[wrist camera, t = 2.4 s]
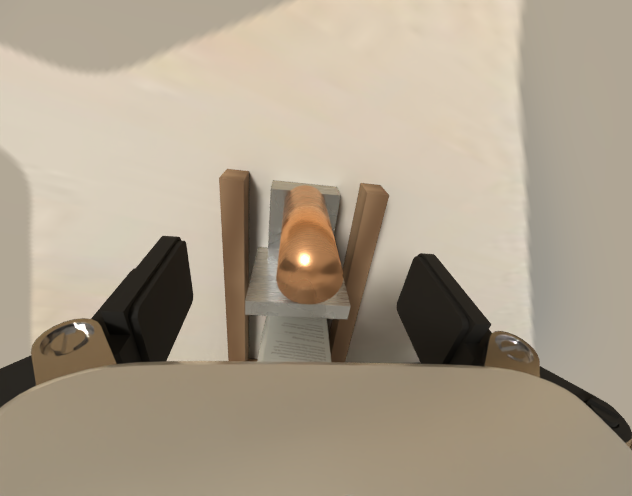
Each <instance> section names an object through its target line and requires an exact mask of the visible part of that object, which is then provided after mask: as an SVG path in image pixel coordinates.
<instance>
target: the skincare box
mask: <svg viewBox="0 0 632 496" xmlns="http://www.w3.org/2000/svg"><path fill="white" fill-rule="evenodd" d="M257 362H331V353H330V344H329V335H328V325H327V318H307V317H285V316H267V317H266V321H265V325H264V329H263V333H262V338H261V343H260V348H259V355H258V361H257Z"/></svg>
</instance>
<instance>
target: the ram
mask: <svg viewBox="0 0 632 496" xmlns="http://www.w3.org/2000/svg"><path fill="white" fill-rule="evenodd" d="M340 196H341V195H340V193H339V190H338V188H337V187H332V186H323V185H313V184H303V183H293V182H284V181H274V180H273V182H272V186H271V197H270V220H269V243H268V248H263V247H258V250H257V254H256V258H255V263H254V267H253V271H252V275H251V279H250V283H249V287H248V291H247V296H246V300H245V315H264V316H285V317H307V318H328V319H348V315H349V311H350V307H351V306H350V302H349V298H348V294H347V290H346V286H345V282H344V278H343V270H342V266H341V262H340V258H339V254H338V250H337V246H336V242H335V238H334V231H335V225H336V219H337V213H338V208H339V202H340Z"/></svg>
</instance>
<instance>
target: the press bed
mask: <svg viewBox="0 0 632 496" xmlns="http://www.w3.org/2000/svg"><path fill="white" fill-rule="evenodd" d="M219 184H220V203H221V222H222V242H223V261H224V280H225V300H226V319H227V338H228V358H229V361H258V359H249V315H245V300H246V296H247V291H248V287H249V171H241V170H232V169H227V170H226V171H225V172H224V173H223V174H222V175H221V177H220V178H219ZM388 198H389V195H388V194H387V192H386V191H385V190H384V189H383V188H382V187H381V185H374V184H364V183H361V184H360V189H359V193H358V198H357V203H356V208H355V213H354V217H353V222H352V227H351V232H350V237H349V242H348V246H347V251H346V256H345V261H344V266H343V278H344V282H345V286H346V290H347V294H348V298H349V302H350V306H351V307H350V311H349V315H348V319H332V324H331V329H330V333H329V344H330V353H331V362H345V360H346V356H347V352H348V348H349V345H350V341H351V337H352V333H353V330H354V326H355V322H356V318H357V315H358V311H359V307H360V303H361V299H362V296H363V292H364V288H365V284H366V281H367V277H368V273H369V269H370V266H371V262H372V258H373V254H374V250H375V247H376V243H377V239H378V235H379V232H380V228H381V224H382V220H383V217H384V213H385V209H386V205H387V201H388Z"/></svg>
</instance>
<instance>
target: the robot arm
mask: <svg viewBox="0 0 632 496" xmlns="http://www.w3.org/2000/svg"><path fill="white" fill-rule="evenodd" d="M192 301H193V290H192V282H191V275H190V268H189V261H188V254H187V246H186V242H185V241H181V239H180V237H173V236H162V237H161V238H160V239H159V241H158V242H157V243H156V244H155V246H154V247H153V248H152V249H151V250H150V252H149V253H148V254H147V255H146V256H145V258H144V259H143V260H142V261H141V263H140V264H139V265H138V266H137V267H136V268H135V269H133V270H132V271H131V272H130V273H129V274H128V275H127V277H126V278H125V279H124V280H123V281H122V283H121V284H120V285H119V286H118V287H117V289H116V290H115V291H114V292H113V293H112V295H111V296H110V297H109V298H108V299H107V301H106V302H105V303H104V304H103V305H102V306H101V308H100V309H99V310H98V311H97V312H96V314H95V315H94V316H93V317H92V318H91V319H86V318H81V319H73V320H69V321H66V322H63V323H60V324H58V325H56V326H53V327H52V328H50V329H48V330H47V331H45V332H44V333H43V334H41V335H40V336H39V337H38V338H37V339H36V340H35V342H34V344H33V345H32V348H31V356H29V357H26V358H24V359H22V360H20V361H17V362H15V363H13V364H10V365H8V366H6V367H3V368H1V369H0V496H632V432H631V429H630V427H629V425H628V424H627V423H626V421H625V420H624V418H623V417H622V416H621V415H620V414H619V413H618V412H617V411H616V410H615V409H614V408H613V407H612V406H610V405H609V404H608V403H606V402H604V401H602V400H600V399H599V398H597V397H596V396H593V395H592V394H590V393H588V392H586V391H584V390H583V389H581V388H579V387H577V386H575V385H574V384H572V383H570V382H568V381H566V380H564V379H563V378H561V377H559V376H557V375H555V374H553V373H551V372H550V371H548V370H546V369H544V368H542V367H541V366H540V361H539V357H538V354H537V353H536V351H535V350H534V349H533V348H532V347H531V346H530V345H529V344H528V343H527V342H525V341H524V340H523V339H521V338H519V337H517V336H516V335H513V334H511V333H508V332H503V331H495V332H493V333H491V331H490V330H489V328H490V326H491V323H490V322H489V321H488V320H487V319H486V317H485V316H484V315H483V314H482V312H481V311H480V310H479V309H478V307H477V306H476V305H475V304H474V303H473V301H472V300H471V299H470V298H469V296H468V295H467V294H466V293H465V291H464V290H463V289H462V288H461V287H460V285H459V284H458V283H457V282H456V280H455V279H454V278H453V277H452V275H451V274H450V273H449V272H448V271H447V269H446V268H445V267H444V266H443V264H442V263H441V262H440V261H439V259H438V258H437V257H436V256H435V255H434V254H422V253H421V254H419V255H418V256H416V257H414V259H413V261H412V264H411V267H410V269H409V272H408V275H407V278H406V280H405V283H404V286H403V288H402V291H401V294H400V296H399V299H398V302H397V311H398V314H399V316H400V318H401V320H402V323H403V325H404V327H405V329H406V331H407V334H408V336H409V338H410V340H411V342H412V345H413V347H414V349H415V351H416V353H417V356H418V358H419V360H420V362H421V364H404V363H345V362H257V361H166V360H167V358H168V356H169V354H170V351H171V349H172V347H173V345H174V342H175V340H176V338H177V336H178V333H179V331H180V329H181V327H182V324H183V322H184V320H185V318H186V315H187V313H188V311H189V309H190V306H191V304H192Z"/></svg>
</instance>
